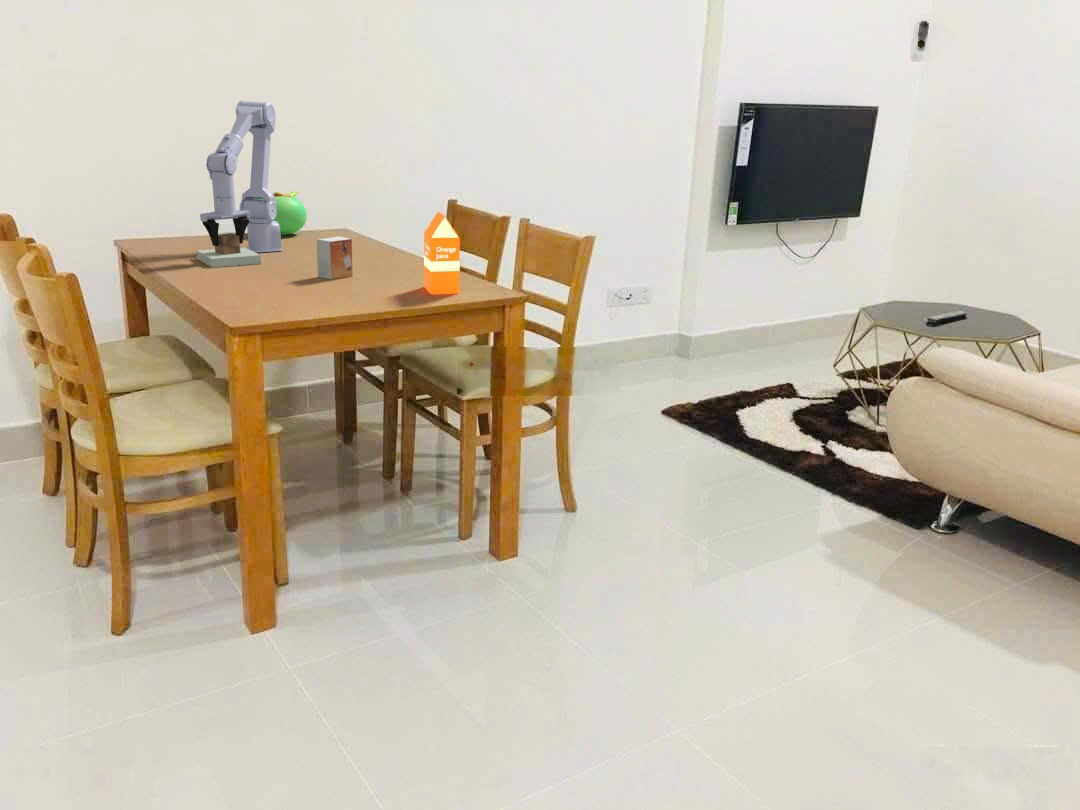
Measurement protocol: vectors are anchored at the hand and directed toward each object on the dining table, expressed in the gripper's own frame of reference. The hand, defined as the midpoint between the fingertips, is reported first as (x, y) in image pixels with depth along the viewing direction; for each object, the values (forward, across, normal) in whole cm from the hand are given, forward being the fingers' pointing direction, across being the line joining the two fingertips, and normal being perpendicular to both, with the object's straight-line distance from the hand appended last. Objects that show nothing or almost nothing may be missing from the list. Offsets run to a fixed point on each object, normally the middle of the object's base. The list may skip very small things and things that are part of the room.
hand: (227, 244), depth 255 cm
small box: (+5, -11, +35) cm, 38 cm away
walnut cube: (+2, 0, 0) cm, 2 cm away
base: (+5, 0, 0) cm, 5 cm away
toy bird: (+5, -38, -31) cm, 49 cm away
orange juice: (+5, -23, +66) cm, 70 cm away
